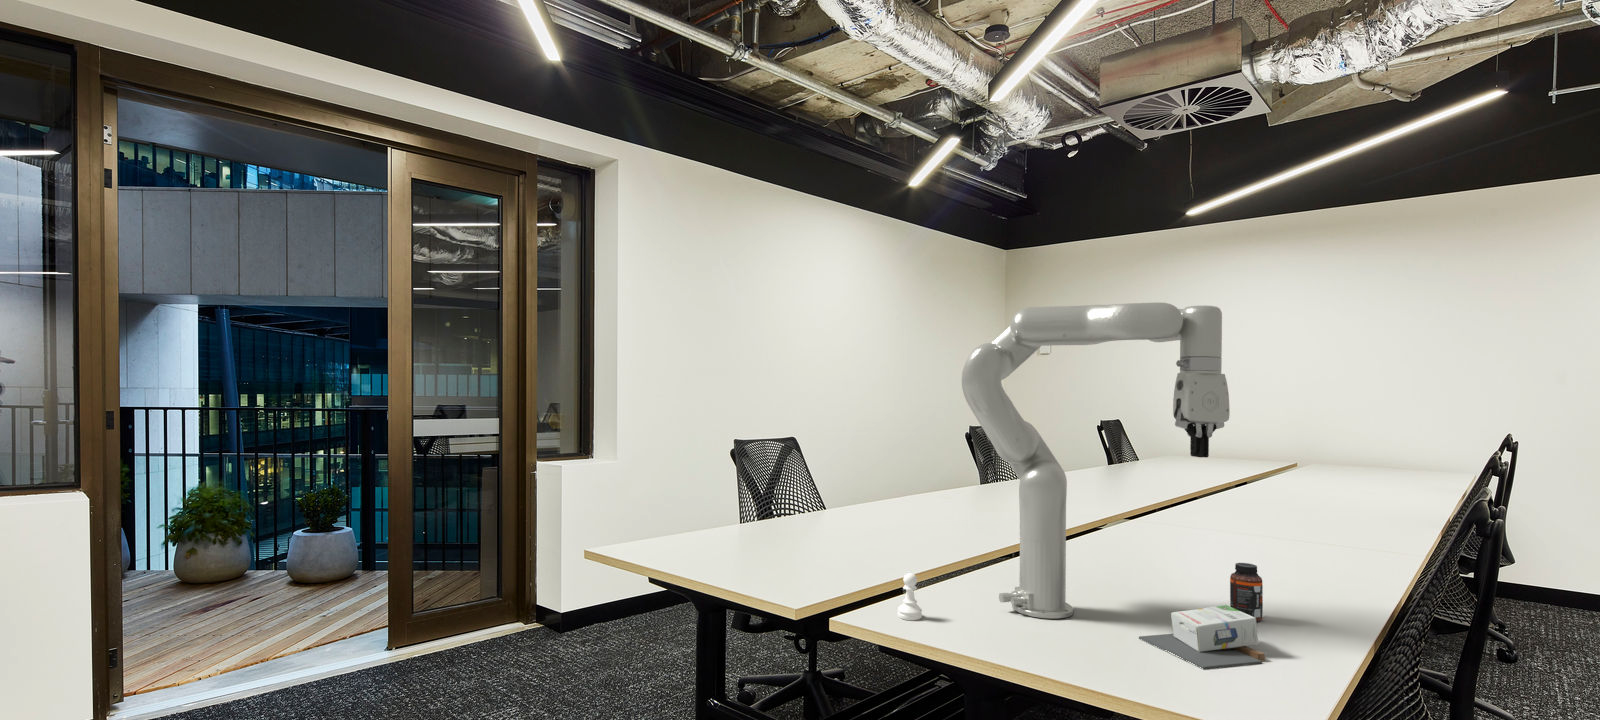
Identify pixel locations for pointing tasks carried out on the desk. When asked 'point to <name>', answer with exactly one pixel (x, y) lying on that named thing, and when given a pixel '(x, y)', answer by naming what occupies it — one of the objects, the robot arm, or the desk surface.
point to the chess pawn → (909, 600)
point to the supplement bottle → (1247, 590)
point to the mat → (1200, 653)
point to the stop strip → (1251, 652)
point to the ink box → (1214, 628)
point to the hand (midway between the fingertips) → (1199, 456)
